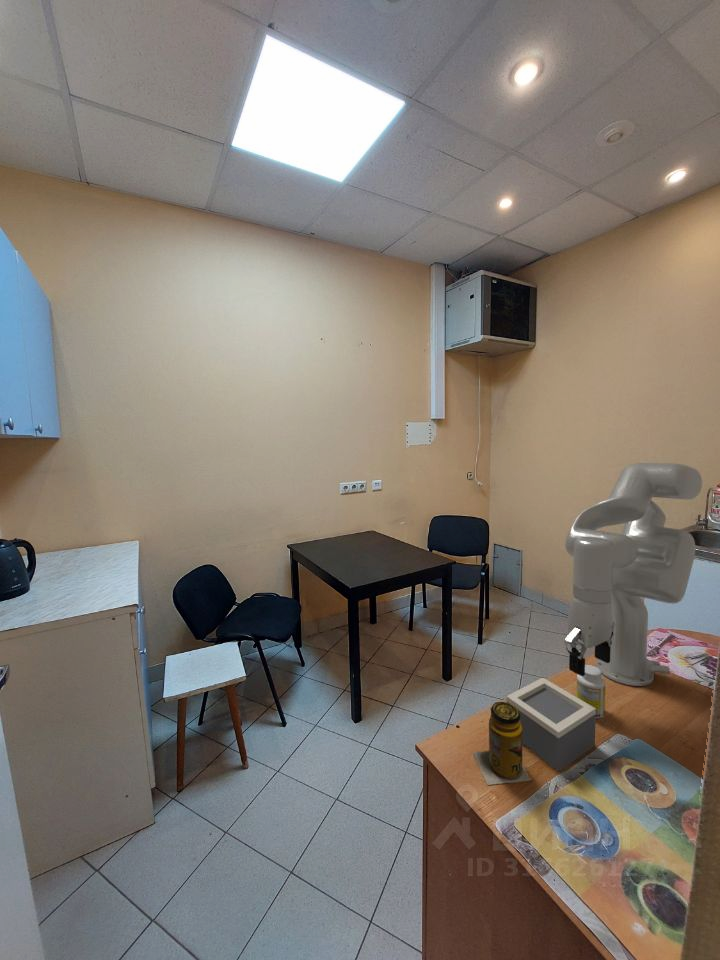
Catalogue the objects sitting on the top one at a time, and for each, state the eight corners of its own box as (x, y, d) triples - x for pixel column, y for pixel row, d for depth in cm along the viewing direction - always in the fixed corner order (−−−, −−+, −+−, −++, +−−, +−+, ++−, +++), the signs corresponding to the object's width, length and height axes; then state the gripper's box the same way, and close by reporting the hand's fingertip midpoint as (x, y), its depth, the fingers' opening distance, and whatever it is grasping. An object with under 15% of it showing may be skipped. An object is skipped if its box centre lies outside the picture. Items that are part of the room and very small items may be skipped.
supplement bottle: (590, 700, 91) (591, 660, 90) (610, 716, 85) (611, 674, 84) (570, 705, 89) (571, 664, 88) (590, 722, 84) (591, 679, 83)
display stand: (542, 710, 88) (542, 677, 88) (594, 745, 78) (595, 708, 77) (506, 731, 83) (506, 696, 82) (558, 772, 72) (558, 732, 71)
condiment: (531, 780, 71) (531, 721, 70) (487, 785, 70) (486, 726, 69) (512, 749, 78) (512, 695, 77) (472, 753, 77) (471, 699, 76)
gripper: (597, 580, 92) (595, 648, 93) (551, 595, 83) (550, 669, 85) (631, 590, 85) (628, 663, 87) (585, 607, 77) (583, 687, 78)
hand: (589, 666), depth 86 cm, fingers open, 9 cm apart
